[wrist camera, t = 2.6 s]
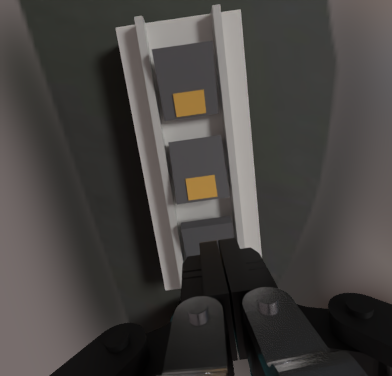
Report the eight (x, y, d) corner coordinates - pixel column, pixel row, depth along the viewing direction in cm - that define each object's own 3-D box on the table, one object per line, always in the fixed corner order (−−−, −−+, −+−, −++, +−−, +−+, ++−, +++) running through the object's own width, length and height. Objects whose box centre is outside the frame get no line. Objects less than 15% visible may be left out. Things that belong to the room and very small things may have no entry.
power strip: (125, 41, 24) (109, 20, 19) (233, 25, 24) (244, 0, 19) (168, 271, 30) (164, 300, 25) (255, 259, 30) (267, 286, 25)
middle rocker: (169, 144, 23) (168, 142, 22) (220, 137, 23) (221, 134, 22) (178, 204, 23) (176, 204, 22) (228, 197, 23) (229, 197, 22)
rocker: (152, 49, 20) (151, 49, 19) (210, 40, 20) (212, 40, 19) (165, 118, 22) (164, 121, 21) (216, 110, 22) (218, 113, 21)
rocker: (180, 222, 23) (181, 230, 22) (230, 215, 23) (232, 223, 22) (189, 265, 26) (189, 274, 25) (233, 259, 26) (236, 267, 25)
